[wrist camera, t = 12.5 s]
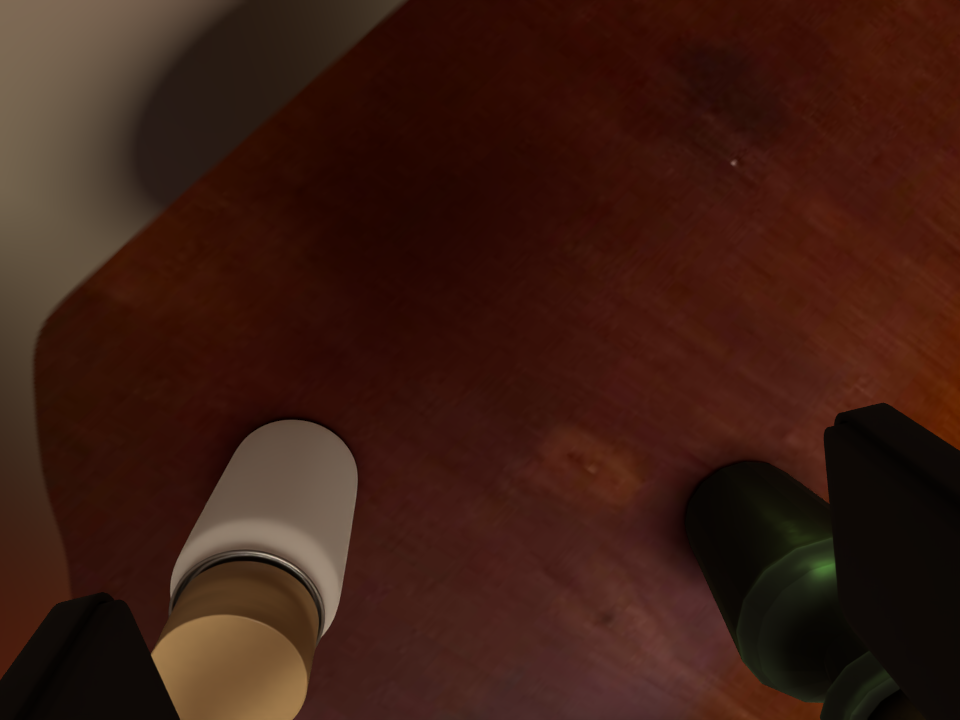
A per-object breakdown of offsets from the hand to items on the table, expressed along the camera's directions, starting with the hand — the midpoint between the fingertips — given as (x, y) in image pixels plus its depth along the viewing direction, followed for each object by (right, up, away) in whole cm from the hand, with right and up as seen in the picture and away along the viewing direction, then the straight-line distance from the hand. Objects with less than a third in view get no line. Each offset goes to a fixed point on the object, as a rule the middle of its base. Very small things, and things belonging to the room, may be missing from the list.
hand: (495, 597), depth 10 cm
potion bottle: (+14, -5, +33) cm, 36 cm away
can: (-10, -3, +30) cm, 32 cm away
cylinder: (-9, -7, +18) cm, 21 cm away
